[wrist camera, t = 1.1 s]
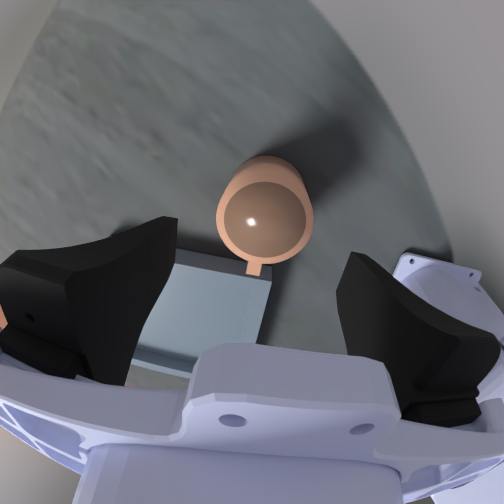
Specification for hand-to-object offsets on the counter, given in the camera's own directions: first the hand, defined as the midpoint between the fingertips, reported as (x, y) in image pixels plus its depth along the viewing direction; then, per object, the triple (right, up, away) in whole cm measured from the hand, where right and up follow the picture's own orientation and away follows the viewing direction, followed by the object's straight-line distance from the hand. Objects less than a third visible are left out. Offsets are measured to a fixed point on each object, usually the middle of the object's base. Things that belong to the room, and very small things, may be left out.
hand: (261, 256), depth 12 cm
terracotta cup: (+1, +4, +8) cm, 9 cm away
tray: (-6, -5, +13) cm, 16 cm away
